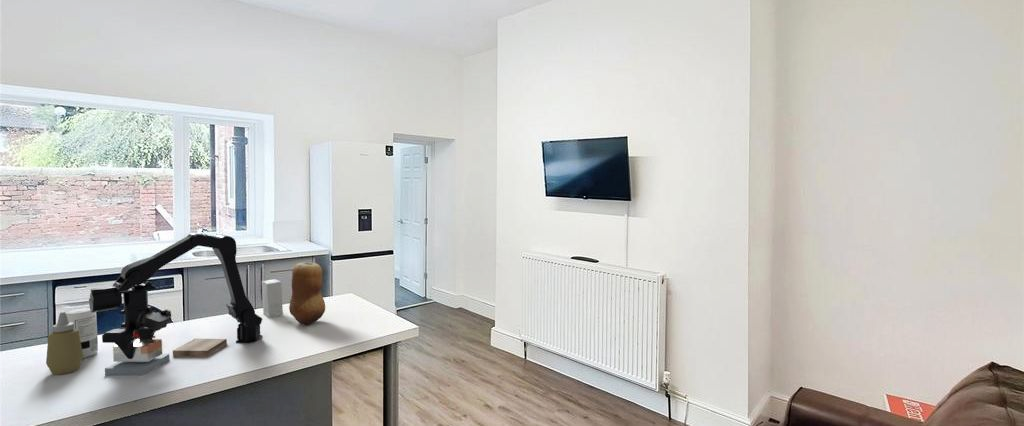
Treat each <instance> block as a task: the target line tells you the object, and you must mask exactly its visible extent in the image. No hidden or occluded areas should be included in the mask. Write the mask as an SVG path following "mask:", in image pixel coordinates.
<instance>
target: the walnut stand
mask: <svg viewBox="0 0 1024 426" xmlns="http://www.w3.org/2000/svg"><path fill="white" fill-rule="evenodd" d="M227 340H228V339H227V338H193V339H192V340H190V341H187V342H186V343H184V344H182V345H180V346H178V347H177V348H175V349H172V357H193V358H194V357H197V358H199V357H201V358H202V357H205V358H206V357H209V356H211V355H212V354H214V353H216V352H217V351H218V350H220V349H221V348H224V347H225V346H226V345H228V341H227Z"/></svg>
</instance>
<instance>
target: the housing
mask: <svg viewBox="0 0 1024 426" xmlns="http://www.w3.org/2000/svg"><path fill="white" fill-rule="evenodd" d="M112 348H113V349H112V351H113V352H112V353H113V362H115V363H117V362H148V361H150V360H152V359H154V358H156V357H158V356H160V355H161V354H163V340H162V339H161V338H160V339H159V338H156V339H155V338H152V339H140V338H137V339H136V340H135V341H134V347H133V358H132V359H128V358H127V357H126V356H125V354H124V353H123V352H122V350H121V349H120V348H119V347H118V346H117V345H116V344H115V345H113V346H112Z"/></svg>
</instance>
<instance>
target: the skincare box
mask: <svg viewBox="0 0 1024 426" xmlns="http://www.w3.org/2000/svg"><path fill="white" fill-rule="evenodd" d="M282 289H283V288H282V281H280V280H278V279H276V278H275V279H274V278H273V279H268V280H267V279H266V280H261V293H262V311H263V313H262V314H263V315H264V316H266V317H267V318H269V319H271V318H276V317H277V318H278V317H282V316H284V312H283V311H284V310H283V295H282V294H283V291H282Z"/></svg>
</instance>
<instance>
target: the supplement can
mask: <svg viewBox="0 0 1024 426" xmlns="http://www.w3.org/2000/svg"><path fill="white" fill-rule="evenodd" d="M64 312H65V313H66V316H67V318H68V321H69V322H73V323H74V329H76V330H78V331H79V336H80V342H81V347H82V352H83V359H85V358H89V357H91V356H94V355H95V354H96V353H97V352H98V351H99V345H98V324H97V323H98V322H97V312H93V313H91V310H90V306H88V307H76V308H72V309H68V310H65V311H64Z"/></svg>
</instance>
